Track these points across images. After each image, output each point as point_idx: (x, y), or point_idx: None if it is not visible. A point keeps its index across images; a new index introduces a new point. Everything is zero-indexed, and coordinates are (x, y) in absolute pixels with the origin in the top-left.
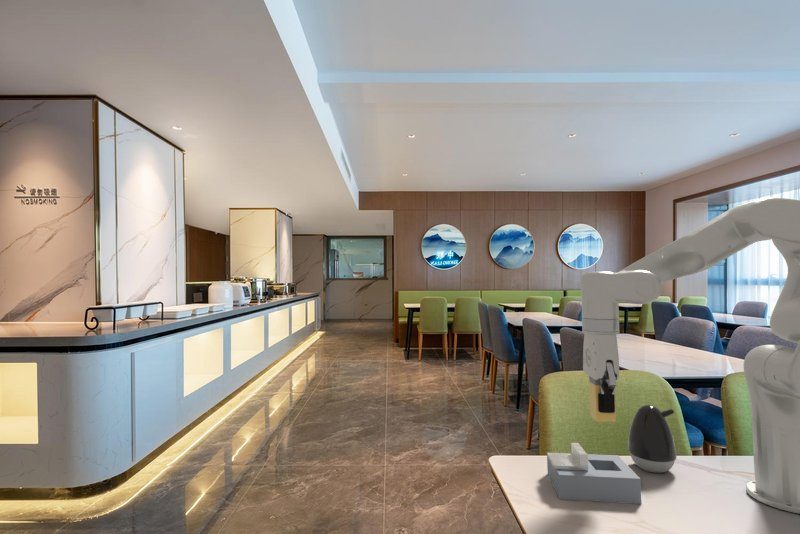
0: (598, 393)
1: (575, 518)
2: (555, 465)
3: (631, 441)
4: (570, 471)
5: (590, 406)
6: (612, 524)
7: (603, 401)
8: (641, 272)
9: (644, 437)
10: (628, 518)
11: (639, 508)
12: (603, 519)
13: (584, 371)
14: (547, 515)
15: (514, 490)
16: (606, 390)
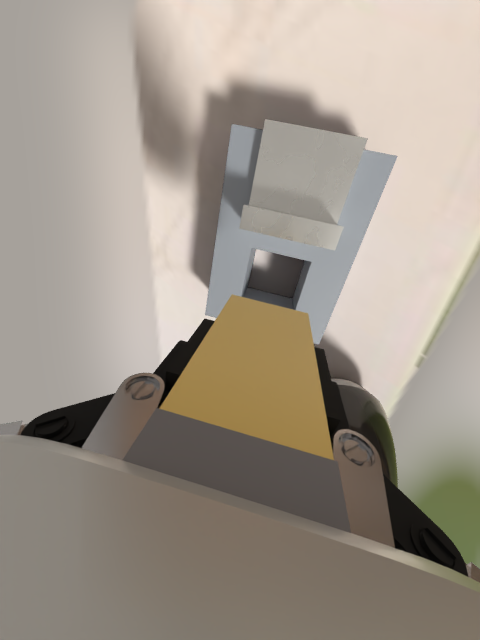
0: (175, 374)
1: (170, 141)
2: (264, 123)
3: (353, 405)
4: (249, 172)
5: (308, 333)
6: (155, 208)
7: (172, 359)
8: None
9: None
10: (174, 248)
11: (204, 285)
12: (169, 200)
13: (471, 605)
14: (178, 71)
15: (304, 2)
16: (83, 406)
